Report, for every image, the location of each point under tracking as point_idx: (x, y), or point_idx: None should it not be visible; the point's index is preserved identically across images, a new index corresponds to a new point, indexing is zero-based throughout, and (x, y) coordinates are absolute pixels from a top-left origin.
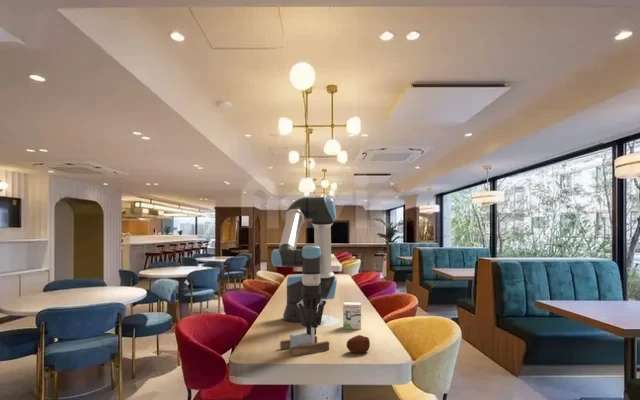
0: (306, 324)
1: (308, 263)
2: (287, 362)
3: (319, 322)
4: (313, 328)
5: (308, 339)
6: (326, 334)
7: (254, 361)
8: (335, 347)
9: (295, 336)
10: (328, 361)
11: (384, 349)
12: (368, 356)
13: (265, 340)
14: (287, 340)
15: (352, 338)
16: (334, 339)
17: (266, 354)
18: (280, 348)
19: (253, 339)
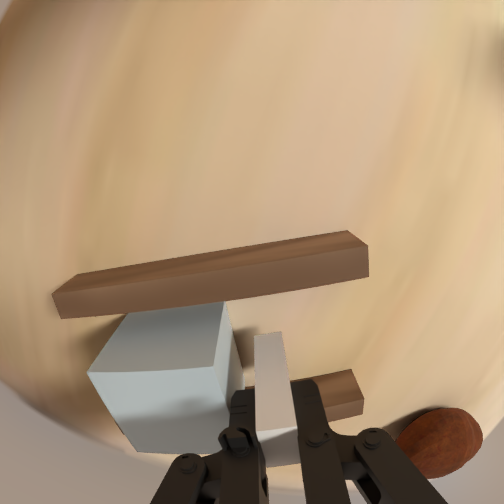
0: (209, 502)
1: None
2: (112, 438)
3: (369, 481)
4: (288, 461)
5: None
6: (476, 77)
7: (8, 375)
8: (403, 355)
9: (125, 432)
10: (267, 475)
11: (500, 397)
12: None
13: (40, 64)
14: (94, 300)
15: (423, 474)
16: (479, 204)
17: (25, 328)
18: (76, 277)
19: (5, 43)
